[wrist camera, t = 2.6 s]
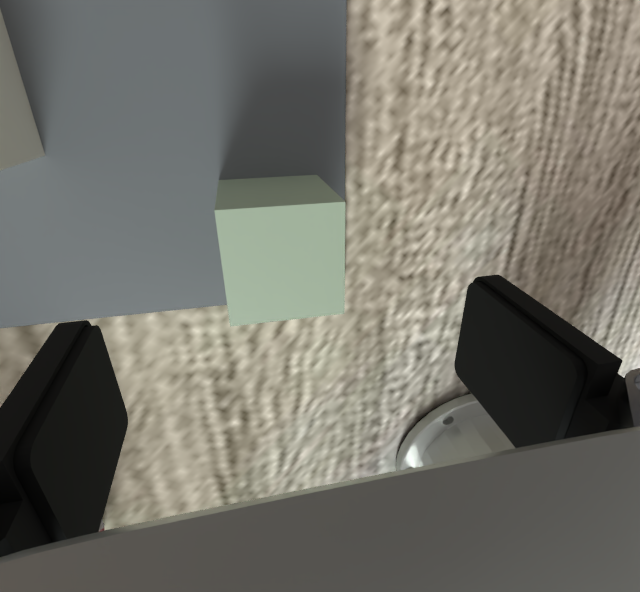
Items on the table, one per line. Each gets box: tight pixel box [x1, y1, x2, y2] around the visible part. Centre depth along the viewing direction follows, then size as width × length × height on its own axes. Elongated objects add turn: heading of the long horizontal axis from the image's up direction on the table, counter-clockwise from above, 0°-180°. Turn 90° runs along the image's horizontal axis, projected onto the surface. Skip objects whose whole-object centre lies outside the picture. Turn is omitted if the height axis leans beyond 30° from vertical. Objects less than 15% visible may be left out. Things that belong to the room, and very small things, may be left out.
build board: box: [0, 0, 346, 328], centre depth 17 cm, size 22×17×7 cm
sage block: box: [214, 175, 345, 326], centre depth 19 cm, size 5×5×6 cm
